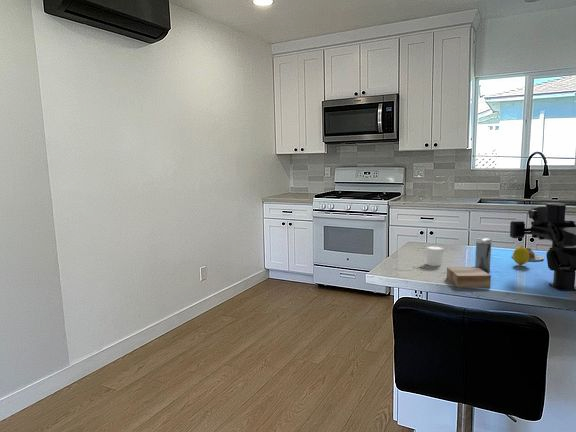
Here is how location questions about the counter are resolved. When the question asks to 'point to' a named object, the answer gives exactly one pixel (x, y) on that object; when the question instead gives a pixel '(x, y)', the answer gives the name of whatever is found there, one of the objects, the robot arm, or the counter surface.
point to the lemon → (521, 255)
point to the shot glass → (434, 255)
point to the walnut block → (468, 277)
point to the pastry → (533, 255)
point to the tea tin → (483, 254)
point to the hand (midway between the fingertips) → (524, 226)
